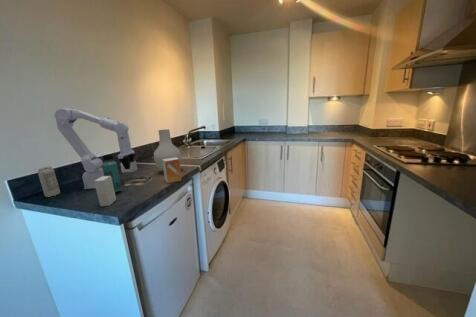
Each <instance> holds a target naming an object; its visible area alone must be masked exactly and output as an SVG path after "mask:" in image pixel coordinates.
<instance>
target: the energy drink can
mask: <svg viewBox="0 0 476 317" xmlns="http://www.w3.org/2000/svg"><path fill="white" fill-rule="evenodd" d="M55 172H56V171H55V169H54V168H53V167H52V166H50V165H49V166H43V167H42V166H41V167H39V168H38V170H37V175H38V178H39V181H40V185H41V187H42V188H41V189H42V191H43V195H44V197H46V198H47V197H51V196H55V197H57V196H56V195H58V194H59V195H60V194H61V190H60V186H59V183H58V179H57V175H56V173H55ZM59 195H58V196H59ZM51 198H52V197H51Z"/></svg>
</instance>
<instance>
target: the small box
mask: <svg viewBox="0 0 476 317" xmlns="http://www.w3.org/2000/svg"><path fill="white" fill-rule="evenodd" d="M162 162H163V169H164V170H163V176H164V182H166V183H167V184H171V183H177V182H181V181H182V180H183V179H182V173H181V172H182V171H181V164H180V163H181V160H180V161H179V159H178V158H177V157H174V158H168V159H162Z"/></svg>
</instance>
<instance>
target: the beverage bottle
mask: <svg viewBox="0 0 476 317" xmlns="http://www.w3.org/2000/svg"><path fill="white" fill-rule="evenodd" d="M102 157H103V158H102V159H103V160H102V161H104V162H103V164H102V167H101V168H102V169H103V174H104V176H111V178H112V183H113V187H114V191H115V193H117V192H119V191H121V190H122V183H121V177H120V173H119V169H118V163H117V162H116V161H115V160H114V156H113V154H110V153H109V154H105V155H104V154H103V156H102Z"/></svg>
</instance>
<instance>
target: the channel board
mask: <svg viewBox="0 0 476 317" xmlns="http://www.w3.org/2000/svg"><path fill="white" fill-rule="evenodd" d="M152 177H153V176H152V175H143V176H141V175H139V176H130V180H124V181H123V182H124V183H123V185H124V187H131V186H132V187H134V186H135V187H136V186H147V185H148V184H149V183H150V182H151V181H152V180H153V178H152Z"/></svg>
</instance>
